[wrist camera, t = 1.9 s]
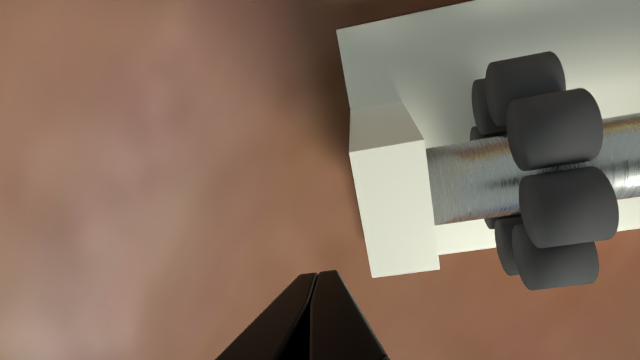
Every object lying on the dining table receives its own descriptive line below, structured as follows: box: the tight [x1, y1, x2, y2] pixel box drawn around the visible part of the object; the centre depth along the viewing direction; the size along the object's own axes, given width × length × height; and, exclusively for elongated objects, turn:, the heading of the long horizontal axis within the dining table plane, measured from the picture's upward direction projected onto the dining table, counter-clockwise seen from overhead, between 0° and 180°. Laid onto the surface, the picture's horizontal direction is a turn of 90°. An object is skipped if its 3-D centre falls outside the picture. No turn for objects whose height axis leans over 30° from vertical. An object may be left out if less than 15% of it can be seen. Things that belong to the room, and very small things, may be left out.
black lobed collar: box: [470, 51, 619, 290], centre depth 13 cm, size 2×7×7 cm, turn 11°
